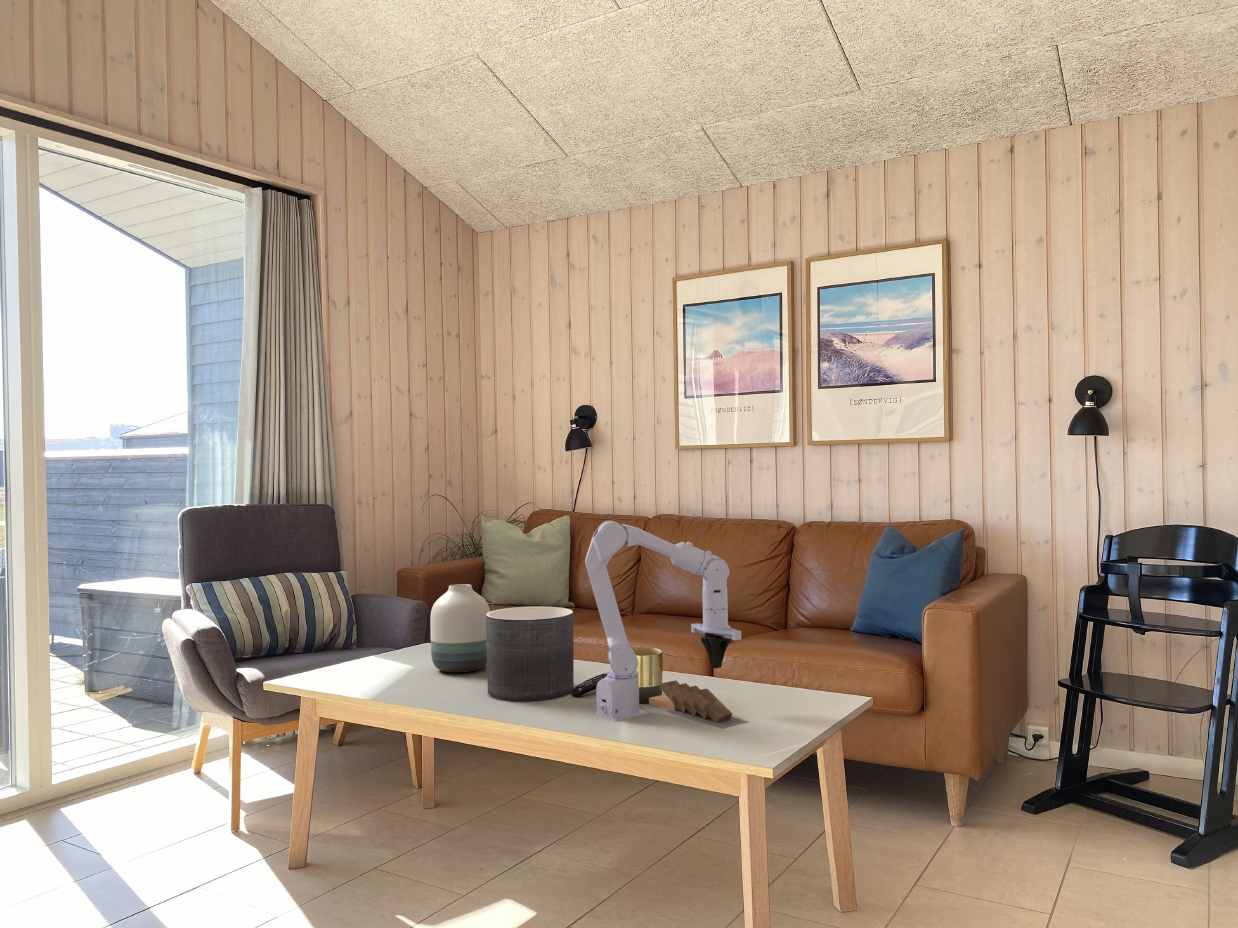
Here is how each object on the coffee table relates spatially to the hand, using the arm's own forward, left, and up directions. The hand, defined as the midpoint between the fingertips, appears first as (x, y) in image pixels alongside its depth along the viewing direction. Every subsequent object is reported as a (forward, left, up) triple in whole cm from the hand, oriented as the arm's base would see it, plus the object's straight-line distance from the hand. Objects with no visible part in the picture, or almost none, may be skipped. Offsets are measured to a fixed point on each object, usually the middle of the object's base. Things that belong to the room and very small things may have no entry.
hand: (716, 667), depth 204 cm
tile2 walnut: (-6, -5, -9) cm, 12 cm away
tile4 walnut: (-6, +2, -9) cm, 11 cm away
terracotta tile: (-6, +6, -9) cm, 12 cm away
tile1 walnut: (-6, -8, -9) cm, 14 cm away
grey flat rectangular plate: (-6, -3, -10) cm, 12 cm away
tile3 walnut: (-6, -1, -9) cm, 11 cm away
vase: (-23, +81, -10) cm, 85 cm away
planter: (-22, +45, -10) cm, 51 cm away
